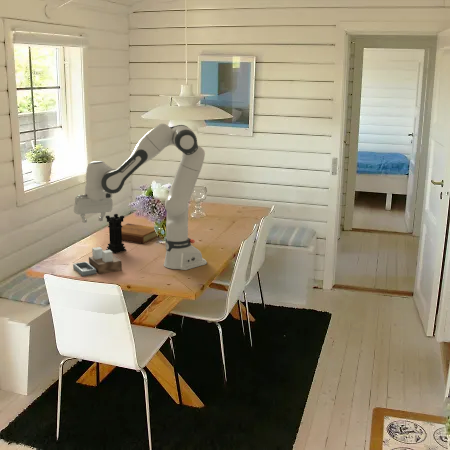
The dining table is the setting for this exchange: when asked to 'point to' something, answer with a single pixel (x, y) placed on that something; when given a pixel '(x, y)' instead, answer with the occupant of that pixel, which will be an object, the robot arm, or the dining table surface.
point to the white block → (97, 252)
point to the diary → (138, 233)
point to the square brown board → (106, 265)
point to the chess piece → (115, 234)
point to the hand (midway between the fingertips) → (92, 221)
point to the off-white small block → (107, 256)
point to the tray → (84, 268)
